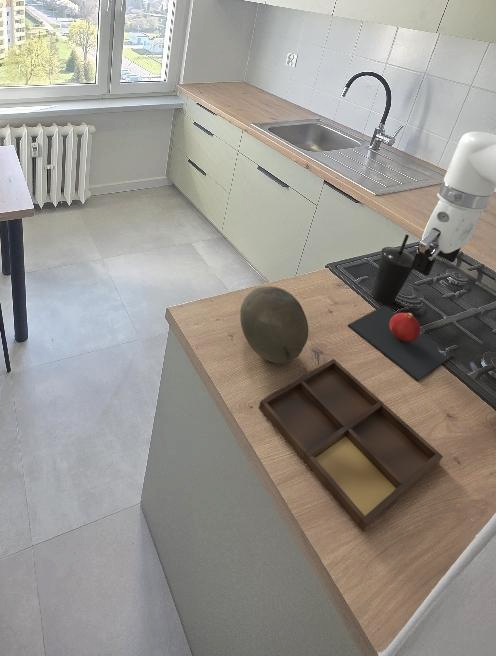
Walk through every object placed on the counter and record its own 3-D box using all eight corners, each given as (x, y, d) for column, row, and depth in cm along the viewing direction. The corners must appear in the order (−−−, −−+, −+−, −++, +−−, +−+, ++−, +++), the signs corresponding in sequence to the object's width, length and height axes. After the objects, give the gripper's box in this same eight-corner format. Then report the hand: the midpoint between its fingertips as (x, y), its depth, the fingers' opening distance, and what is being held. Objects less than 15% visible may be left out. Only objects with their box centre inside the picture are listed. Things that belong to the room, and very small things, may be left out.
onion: (391, 324, 100) (402, 299, 97) (418, 341, 96) (430, 315, 93) (380, 336, 97) (391, 310, 94) (408, 353, 93) (420, 327, 90)
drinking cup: (394, 314, 104) (421, 249, 96) (361, 296, 109) (384, 234, 101) (403, 299, 109) (429, 236, 101) (371, 283, 114) (394, 222, 106)
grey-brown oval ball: (305, 342, 95) (321, 291, 89) (292, 389, 84) (309, 336, 78) (244, 314, 102) (255, 265, 96) (225, 355, 91) (235, 303, 85)
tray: (438, 463, 73) (443, 456, 72) (362, 531, 64) (366, 524, 63) (331, 365, 90) (333, 358, 89) (258, 407, 81) (260, 400, 80)
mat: (453, 356, 93) (454, 354, 93) (417, 381, 87) (418, 379, 87) (382, 307, 106) (383, 305, 106) (347, 326, 100) (348, 324, 100)
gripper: (462, 214, 74) (428, 289, 81) (508, 194, 81) (473, 264, 88) (418, 194, 80) (390, 265, 87) (464, 177, 87) (435, 243, 94)
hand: (432, 264), depth 88 cm, fingers open, 9 cm apart
